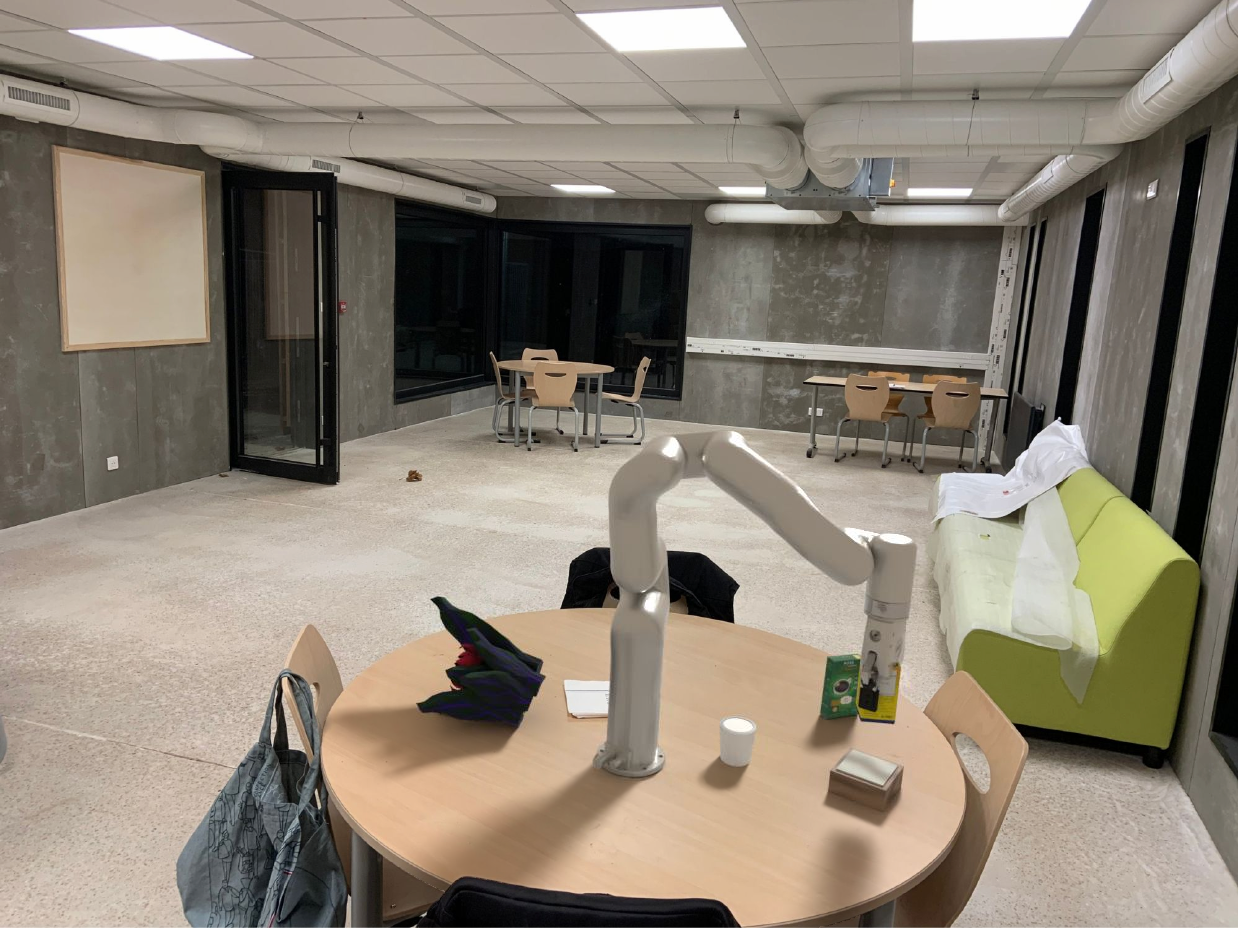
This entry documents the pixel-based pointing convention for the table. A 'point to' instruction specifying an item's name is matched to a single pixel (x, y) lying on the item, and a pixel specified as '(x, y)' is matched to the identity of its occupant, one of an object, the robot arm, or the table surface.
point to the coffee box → (840, 686)
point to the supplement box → (882, 698)
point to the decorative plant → (484, 672)
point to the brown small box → (866, 779)
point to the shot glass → (736, 740)
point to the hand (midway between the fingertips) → (875, 699)
